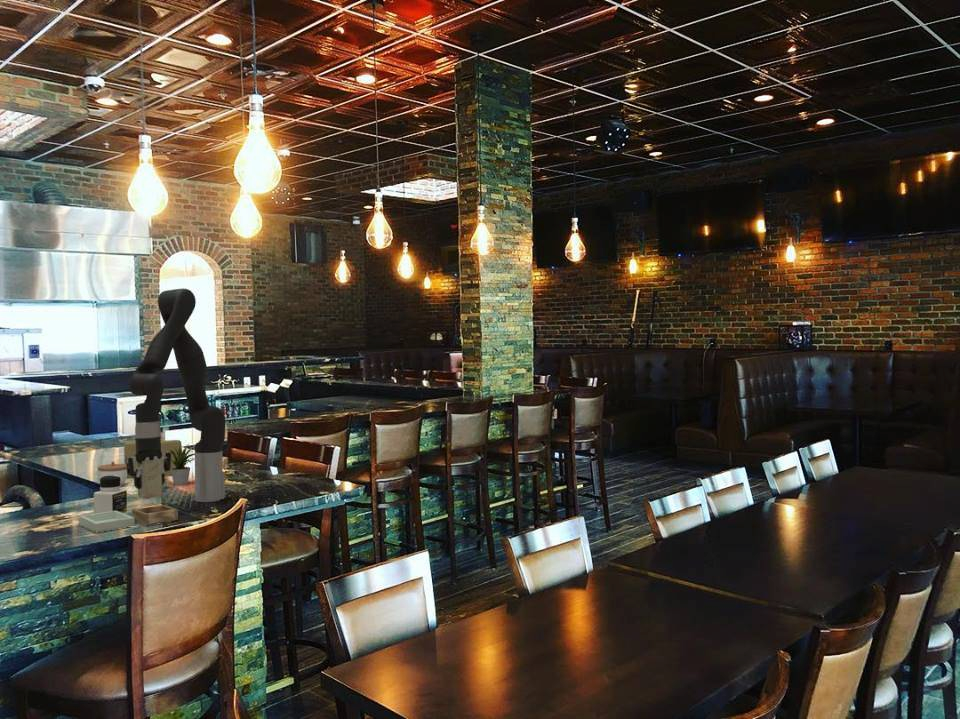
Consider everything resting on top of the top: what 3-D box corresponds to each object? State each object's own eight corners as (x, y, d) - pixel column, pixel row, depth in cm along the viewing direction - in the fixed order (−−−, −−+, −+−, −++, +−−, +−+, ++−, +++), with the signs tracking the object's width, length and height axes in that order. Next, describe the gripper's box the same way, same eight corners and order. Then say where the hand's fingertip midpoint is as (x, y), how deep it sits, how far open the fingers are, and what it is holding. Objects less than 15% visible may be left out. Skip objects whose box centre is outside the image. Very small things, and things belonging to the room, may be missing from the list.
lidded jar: (134, 484, 300) (134, 460, 299) (111, 489, 290) (110, 464, 290) (115, 482, 304) (115, 458, 304) (91, 487, 294) (91, 462, 294)
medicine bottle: (112, 515, 247) (112, 478, 247) (93, 514, 248) (93, 477, 248) (127, 510, 254) (127, 474, 254) (108, 509, 255) (107, 473, 255)
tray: (116, 519, 242) (116, 510, 242) (134, 526, 232) (134, 517, 232) (78, 525, 234) (78, 516, 234) (96, 533, 224) (96, 523, 224)
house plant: (185, 488, 292) (185, 446, 291) (153, 487, 294) (152, 444, 294) (206, 482, 306) (206, 441, 305) (175, 480, 308) (174, 440, 308)
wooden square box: (163, 515, 247) (163, 504, 246) (177, 521, 240) (177, 509, 240) (132, 521, 239) (131, 509, 239) (145, 526, 232) (145, 514, 232)
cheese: (186, 474, 325) (186, 438, 324) (179, 478, 315) (179, 441, 315) (131, 474, 322) (131, 439, 322) (123, 478, 313) (123, 442, 312)
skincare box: (146, 499, 244) (144, 461, 244) (137, 498, 246) (135, 460, 246) (163, 495, 250) (161, 458, 249) (154, 494, 252) (153, 457, 251)
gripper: (164, 432, 255) (166, 481, 256) (120, 437, 244) (122, 488, 245) (175, 433, 250) (176, 484, 251) (130, 439, 239) (132, 492, 240)
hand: (149, 486), depth 248 cm, fingers closed on skincare box, 6 cm apart
